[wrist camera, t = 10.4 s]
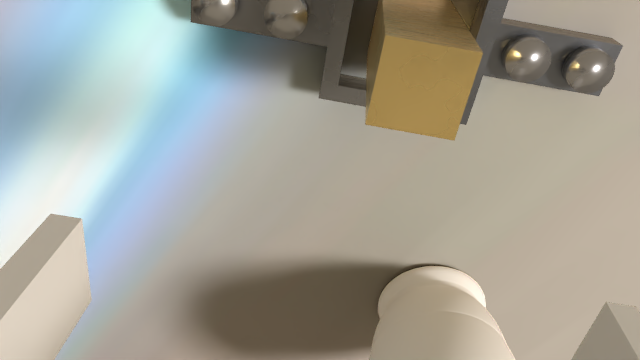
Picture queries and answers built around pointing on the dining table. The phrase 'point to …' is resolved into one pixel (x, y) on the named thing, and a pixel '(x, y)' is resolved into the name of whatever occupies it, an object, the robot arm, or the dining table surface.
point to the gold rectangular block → (419, 67)
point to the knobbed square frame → (487, 29)
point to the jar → (436, 319)
